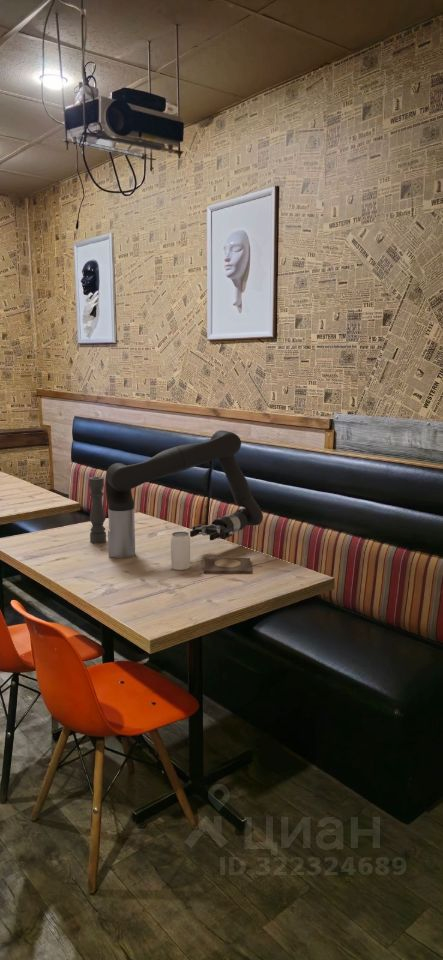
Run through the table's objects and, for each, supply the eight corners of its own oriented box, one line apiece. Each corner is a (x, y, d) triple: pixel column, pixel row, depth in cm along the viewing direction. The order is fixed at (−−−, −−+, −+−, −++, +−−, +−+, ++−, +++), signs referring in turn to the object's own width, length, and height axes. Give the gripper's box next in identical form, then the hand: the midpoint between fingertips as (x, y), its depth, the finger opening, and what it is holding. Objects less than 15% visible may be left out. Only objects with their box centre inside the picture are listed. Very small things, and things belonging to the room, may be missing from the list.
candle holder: (104, 543, 258) (102, 479, 253) (88, 543, 258) (86, 479, 253) (107, 539, 264) (105, 476, 259) (91, 539, 264) (89, 476, 259)
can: (191, 565, 231) (191, 531, 229) (188, 571, 225) (188, 536, 223) (172, 564, 232) (172, 531, 230) (169, 570, 225) (169, 535, 223)
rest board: (203, 573, 222) (203, 569, 222) (204, 560, 236) (204, 556, 236) (251, 573, 222) (251, 569, 222) (249, 560, 236) (250, 556, 236)
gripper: (210, 513, 252) (184, 522, 239) (242, 518, 244) (217, 528, 231) (210, 532, 254) (184, 543, 240) (242, 538, 246) (217, 549, 233)
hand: (200, 535), depth 236 cm, fingers open, 8 cm apart
